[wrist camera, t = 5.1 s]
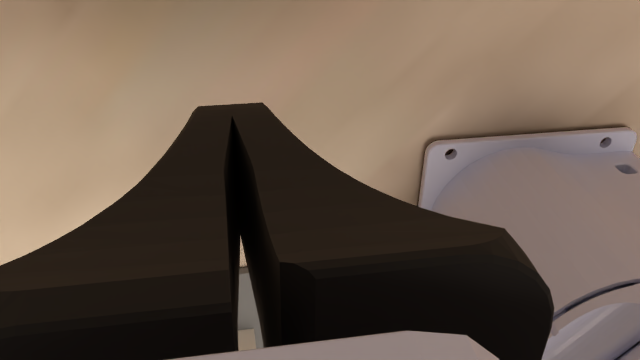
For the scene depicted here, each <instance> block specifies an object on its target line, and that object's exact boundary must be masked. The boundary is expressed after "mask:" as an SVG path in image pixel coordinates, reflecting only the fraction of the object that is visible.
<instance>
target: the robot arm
mask: <svg viewBox="0 0 640 360" xmlns="http://www.w3.org/2000/svg"><path fill="white" fill-rule="evenodd" d="M604 138H606V139H605V141H603V142H602V143H600V142H601V141H602V140H603V139H604ZM636 140H637V134H636V132H634V131H633V130H632V129H630V128H629V127H619V128H605V129H591V130H577V131H564V132H550V133H536V134H522V135H508V136H494V137H480V138H466V139H452V140H438V141H434V142H432V143H431V144H429V145H428V147H427V148H426V151H425V157H424V165H423V173H422V180H421V188H420V196H419V204H418V207H417V206H415V205H412V204H409V203H406V202H404V201H401V200H398V199H396V198H394V197H391V196H389V195H387V194H385V193H382V192H380V191H378V190H375V189H373V188H371V187H369V186H367V185H365V184H363V183H361V182H359V181H358V180H356V179H354V178H352V177H351V176H349V175H347V174H346V173H344V172H342V171H340V170H339V169H337V168H336V167H334V166H332V165H331V164H329V163H328V162H327V161H325V160H324V159H323V158H321V157H320V156H319V155H317V154H316V153H315V152H313V151H312V150H311V149H309V148H308V147H307V146H306V145H305V144H304V143H302V142H301V141H300V140H299V139H298V138H297V137H296V136H295V135H294V134H293V133H291V132H290V131H289V130H288V129H287V128H286V127H285V126H284V125H283V124H282V123H281V121H280V120H279V119H278V118H277V117H276V116H275V115H274V114H273V113H272V112H271V111H270V110H269V108H268V107H266V106H265V105H264V104H263V103H248V104H231V105H214V106H198V107H197V108H196V109H195V110H194V111H193V113H192V115H191V117H190V118H189V120H188V122H187V123H186V125H185V127H184V128H183V130H182V131H181V133H180V134H179V136H178V137H177V138H176V140H175V141H174V142H173V144H172V145H171V146H170V148H169V149H168V150H167V152H166V153H165V154H164V156H163V157H162V158H161V159H160V160H159V161H158V162H157V164H156V165H155V166H154V167H153V168H152V169H151V170H150V171H149V173H148V174H147V175H146V176H145V177H144V178H143V179H142V180H141V181H140V182H139V183H138V184H137V185H136V186H135V187H133V188H132V189H131V190H130V191H129V192H127V193H126V194H125V195H124V196H123V197H121V198H120V199H119V200H118V201H116V202H115V203H114V204H112V205H111V206H109V207H108V208H106V209H105V210H103V211H102V212H100V213H99V214H98V215H96V216H95V217H93V218H92V219H90V220H89V221H87V222H86V223H84V224H83V225H81V226H80V227H78V228H76V229H75V230H73V231H71V232H69V233H67V234H66V235H64V236H62V237H60V238H59V239H57V240H55V241H53V242H51V243H49V244H47V245H45V246H43V247H41V248H39V249H37V250H35V251H33V252H31V253H29V254H27V255H24V256H22V257H20V258H18V259H15V260H13V261H10V262H8V263H6V264H3V265H1V266H0V360H640V158H639V157H638V156H637V155H635V154H634V153H633V152H632V151H633V149H634V146H635V143H636ZM449 149H454V150H453V152H452V153H451V154H449V155H445V153H446V152H447V151H448V150H449ZM240 235H241V239H242V244H243V249H244V253H245V258H246V263H247V267H248V272H249V276H250V281H251V285H252V290H253V295H254V299H255V304H256V308H257V313H258V317H259V322H260V328H261V334H262V340H263V348H258V349H250V350H242V351H239V349H238V301H239V267H240Z"/></svg>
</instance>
